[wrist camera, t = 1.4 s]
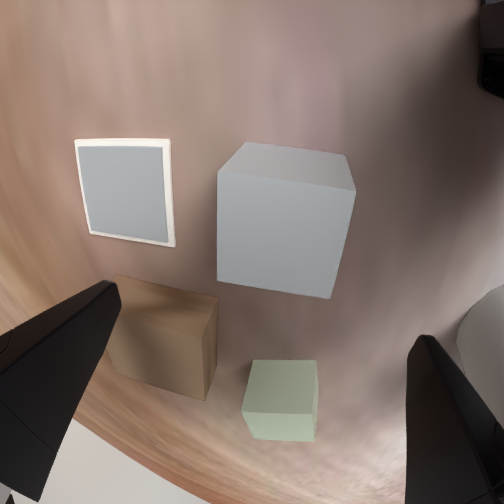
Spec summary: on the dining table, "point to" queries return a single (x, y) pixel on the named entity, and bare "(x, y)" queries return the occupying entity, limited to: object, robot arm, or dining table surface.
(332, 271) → the grey cube
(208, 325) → the walnut base
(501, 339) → the cup
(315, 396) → the sage cube
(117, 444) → the dining table surface
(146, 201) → the tile
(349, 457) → the dining table surface
